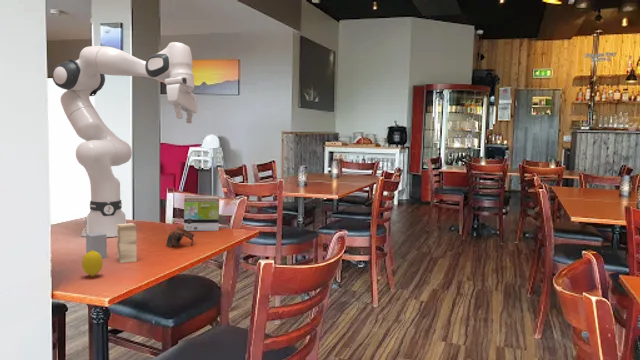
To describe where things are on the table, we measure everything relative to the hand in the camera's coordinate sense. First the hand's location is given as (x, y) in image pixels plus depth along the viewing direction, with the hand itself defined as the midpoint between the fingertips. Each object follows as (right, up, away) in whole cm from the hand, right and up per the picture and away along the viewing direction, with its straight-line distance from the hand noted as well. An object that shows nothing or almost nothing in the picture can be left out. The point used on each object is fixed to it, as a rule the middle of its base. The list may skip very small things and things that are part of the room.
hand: (184, 120), depth 193 cm
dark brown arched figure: (-3, -47, +2) cm, 48 cm away
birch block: (-14, -49, -20) cm, 55 cm away
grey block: (-25, -49, -17) cm, 57 cm away
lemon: (-17, -51, -40) cm, 67 cm away
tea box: (-2, -44, +36) cm, 57 cm away
